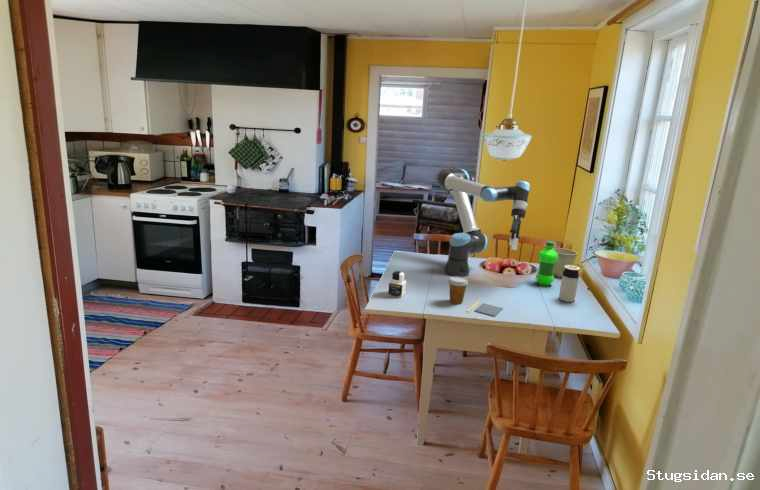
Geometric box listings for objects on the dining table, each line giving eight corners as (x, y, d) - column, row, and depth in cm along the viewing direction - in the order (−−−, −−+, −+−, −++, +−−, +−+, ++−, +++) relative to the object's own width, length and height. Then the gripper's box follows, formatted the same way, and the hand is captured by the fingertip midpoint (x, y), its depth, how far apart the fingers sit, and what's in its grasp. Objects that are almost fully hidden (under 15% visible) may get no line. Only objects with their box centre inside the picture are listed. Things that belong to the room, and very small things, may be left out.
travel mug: (574, 303, 251) (580, 270, 246) (558, 300, 253) (564, 268, 249) (574, 298, 258) (580, 266, 254) (558, 295, 261) (564, 264, 256)
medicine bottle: (387, 295, 245) (389, 273, 242) (392, 291, 251) (394, 269, 248) (401, 298, 242) (403, 275, 239) (405, 293, 249) (407, 271, 246)
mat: (474, 311, 231) (474, 310, 231) (483, 304, 241) (483, 303, 241) (494, 316, 226) (494, 315, 226) (502, 309, 236) (502, 308, 236)
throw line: (466, 311, 230) (466, 311, 230) (477, 302, 244) (477, 301, 243) (468, 312, 230) (468, 311, 230) (480, 302, 243) (480, 302, 243)
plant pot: (556, 280, 288) (560, 254, 284) (542, 272, 302) (546, 247, 298) (577, 279, 292) (582, 254, 288) (563, 272, 305) (567, 247, 301)
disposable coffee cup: (466, 299, 246) (468, 277, 243) (465, 306, 237) (468, 283, 234) (447, 297, 247) (449, 275, 244) (445, 303, 238) (448, 280, 235)
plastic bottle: (557, 286, 276) (564, 244, 270) (541, 287, 272) (548, 245, 266) (545, 281, 285) (552, 240, 279) (530, 281, 281) (537, 240, 275)
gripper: (524, 204, 250) (517, 244, 248) (527, 215, 273) (521, 252, 271) (509, 203, 253) (503, 242, 250) (514, 214, 276) (508, 250, 273)
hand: (512, 247), depth 261 cm, fingers open, 13 cm apart
